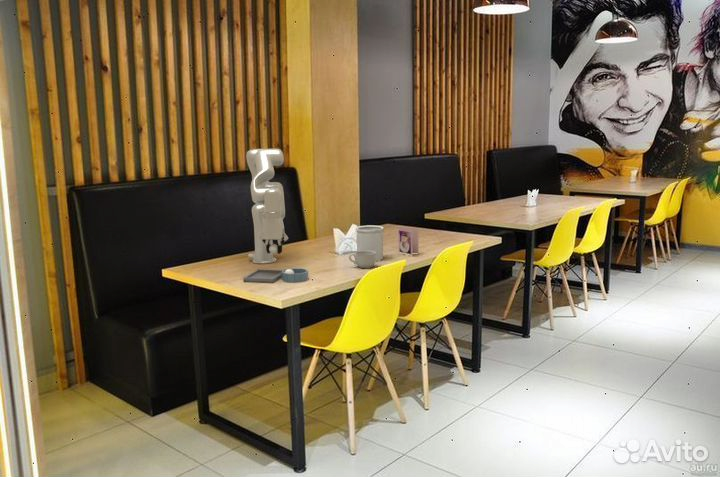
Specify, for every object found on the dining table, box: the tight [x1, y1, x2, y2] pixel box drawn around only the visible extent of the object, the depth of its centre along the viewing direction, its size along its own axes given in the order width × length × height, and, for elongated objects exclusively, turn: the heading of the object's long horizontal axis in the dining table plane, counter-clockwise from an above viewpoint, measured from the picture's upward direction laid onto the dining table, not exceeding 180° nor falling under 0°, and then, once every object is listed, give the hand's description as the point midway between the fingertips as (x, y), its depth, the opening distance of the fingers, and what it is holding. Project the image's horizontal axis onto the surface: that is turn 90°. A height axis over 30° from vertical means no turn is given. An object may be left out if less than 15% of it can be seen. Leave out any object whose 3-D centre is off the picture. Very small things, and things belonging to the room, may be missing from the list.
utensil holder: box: [355, 224, 385, 262], centre depth 345 cm, size 15×15×18 cm
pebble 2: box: [284, 268, 294, 274], centre depth 301 cm, size 5×5×5 cm
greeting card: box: [397, 227, 419, 256], centre depth 357 cm, size 11×7×15 cm, turn 39°
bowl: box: [281, 267, 309, 283], centre depth 303 cm, size 12×12×4 cm
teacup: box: [348, 250, 376, 269], centre depth 327 cm, size 14×11×8 cm
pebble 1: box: [269, 243, 278, 255], centre depth 306 cm, size 5×5×5 cm
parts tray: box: [242, 268, 284, 284], centre depth 306 cm, size 15×18×2 cm
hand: (274, 252), depth 307 cm, fingers closed on pebble 1, 4 cm apart
